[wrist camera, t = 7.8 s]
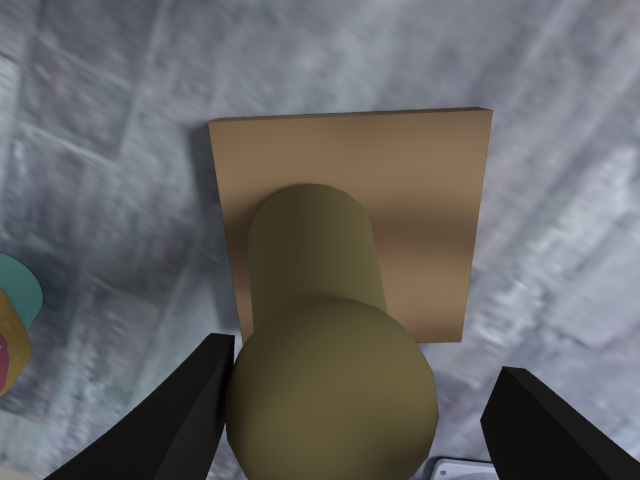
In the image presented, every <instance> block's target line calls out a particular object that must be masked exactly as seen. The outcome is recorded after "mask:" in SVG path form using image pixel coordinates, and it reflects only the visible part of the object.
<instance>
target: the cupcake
mask: <svg viewBox="0 0 640 480" xmlns="http://www.w3.org/2000/svg"><path fill="white" fill-rule="evenodd" d="M42 303H43V294H42V289H41V287H40V284H39V282H38V280H37V279H36V277H35V276H34V275H33V273H32V272H31V271H30V270H29V269H28V268H27V267H26V266H24V265H23V264H22V263H21V262H19V261H18V260H16V259H14V258H12V257H10V256H8V255H6V254H3V253H0V396H2V395H3V394H4V393H5V392H6V391H7V390H8V389H9V388H10V387H11V386H12V385H13V384H14V382H15V381H16V380H17V378H18V376H19V375H20V373H21V371H22V370H23V369H24V368H25V367H26V365H27V364H28V363H29V361H30V359H31V343H30V339H29V336H28V333H27V331H28V329H29V327H30V325H31V324H32V322H33V320H34V319H35V317H36V316H37V314H38V313H39V311H40V309H41V307H42Z"/></svg>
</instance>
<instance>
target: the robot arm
mask: <svg viewBox="0 0 640 480" xmlns="http://www.w3.org/2000/svg"><path fill="white" fill-rule="evenodd" d="M234 344H235V335H227V334H218V333H211V334H209V335H208V336H207V337H206V338H205V339H204V340H203V341H202V342H201V344H200V345H199V346H198V347H197V348H196V349H195V350H194V351H193V352H192V353H191V354H190V355H189V357H188V358H187V359H186V360H185V361H184V362H183V363H182V364H181V365H180V366H179V367H178V368H177V369H176V370H175V371H174V372H173V373H172V374H171V375H170V376H169V377H168V378H167V379H166V380H165V381H164V382H162V383H161V384H160V385H159V386H158V387H157V388H156V389H155V390H154V391H153V392H152V393H151V394H150V395H149V396H148V397H147V398H145V399H144V400H143V401H142V402H141V403H140V404H139V405H138V406H136V407H135V408H134V409H133V410H132V411H131V412H130V413H128V414H127V415H126V416H125V417H124V418H123V419H122V420H120V421H119V422H118V423H117V424H116V425H114V426H113V427H112V428H111V429H110V430H108V431H107V432H106V433H105V434H103V435H102V436H101V437H100V438H98V439H97V440H96V441H95V442H93V443H92V444H91V445H89V446H88V447H87V448H86V449H84V450H83V451H82V452H80V453H79V454H78V455H76V456H75V457H74V458H72V459H71V460H70V461H68V462H67V463H66V464H64V465H63V466H61V467H60V468H59V469H57V470H56V471H54V472H53V473H52V474H50V475H49V476H47V477H46V478H45V479H43V480H206V477H207V475H208V472H209V469H210V466H211V464H212V461H213V458H214V455H215V453H216V450H217V447H218V444H219V441H220V439H221V436H222V433H223V429H224V425H225V392H226V388H227V383H228V379H229V375H230V373H231V371H232V368H233V366H234ZM480 422H481V426H482V430H483V434H484V437H485V441H486V444H487V448H488V451H489V454H490V458H491V461H492V463H493V464H489V463H480V462H471V461H461V460H452V459H440V460H438V461H437V463H436V465H435V468H434V470H433V473H432V476H431V478H430V480H640V463H639V462H638V461H637V460H636V459H634V458H633V457H632V456H631V455H629V454H628V453H627V452H626V451H624V450H623V449H622V448H621V447H619V446H618V445H617V444H616V443H614V442H613V441H612V440H611V439H610V438H608V437H607V436H606V435H605V434H603V433H602V432H601V431H600V430H599V429H597V428H596V427H595V426H594V425H593V424H591V423H590V422H589V421H588V420H587V419H586V418H584V417H583V416H582V415H581V414H580V413H578V412H577V411H576V410H575V409H574V408H573V407H571V406H570V405H569V404H568V403H567V402H565V401H564V400H563V399H562V398H561V397H560V396H558V395H557V394H556V393H555V392H554V391H552V390H551V389H550V388H549V387H548V386H546V385H545V384H544V383H543V382H541V381H540V380H539V379H538V378H536V377H535V376H534V375H533V374H531V373H530V372H529V371H527V370H526V369H523V368H514V367H505V366H503V367H502V370H501V372H500V374H499V377H498V379H497V381H496V384H495V386H494V389H493V391H492V393H491V396H490V398H489V400H488V403H487V405H486V408H485V410H484V412H483V415H482V417H481V419H480Z"/></svg>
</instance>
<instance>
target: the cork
mask: <svg viewBox="0 0 640 480" xmlns="http://www.w3.org/2000/svg"><path fill="white" fill-rule="evenodd" d="M248 255H249V271H250V287H251V303H252V319H253V333H252V334H251V335H250V336H249V338H248V339H247V340H246V342H245V344H244V345H243V347H242V349H241V350H240V352H239V354H238V357H237V359H236V361H235V364H234V366H233V368H232V371H231V373H230V375H229V379H228V383H227V388H226V392H225V423H226V433H227V441H228V443H229V445H230V447H231V449H232V451H233V453H234V455H235V457H236V459H237V461H238V463H239V465H240V467H241V468H242V470H243V472H244V474H245V476H246V478H247V479H249V480H408V479H409V478H411V477H412V476H413V475H414V474H415V473H416V472H417V470H418V469H419V468H420V466H421V465H422V464H423V462H424V461H425V460H426V459H427V457H428V455H429V452H430V449H431V445H432V442H433V439H434V436H435V432H436V427H437V423H438V419H439V412H438V404H437V396H436V389H435V382H434V376H433V372H432V370H431V368H430V366H429V364H428V362H427V360H426V358H425V356H424V354H423V353H422V351H421V350H420V348H419V346H418V345H417V343H416V342H415V340H414V338H413V337H412V335H411V334H410V333H409V332H408V331H407V330H406V329H405V328H404V327H403V326H402V325H401V324H400V323H399V322H397V321H396V320H395V319H393V318H392V317H391V316H389V315H388V311H387V306H386V300H385V295H384V290H383V284H382V279H381V274H380V268H379V263H378V258H377V252H376V247H375V242H374V236H373V231H372V226H371V221H370V219H369V218H368V216H367V214H366V212H365V211H364V209H363V207H362V205H361V204H359V203H358V202H357V201H356V200H355V199H353V198H352V197H351V196H350V195H349V194H348V193H346V192H344V191H341V190H339V189H336V188H334V187H331V186H329V185H321V184H307V183H306V184H302V185H298V186H294V187H290V188H286V189H284V190H282V191H281V192H279V193H277V194H276V195H274V196H273V197H271V198H269V199H268V200H267V201H266V202H265V203H264V205H263V206H262V207H261V208H260V209H259V211H258V212H257V213H256V214H255V216H254V219H253V222H252V224H251V227H250V229H249V232H248Z"/></svg>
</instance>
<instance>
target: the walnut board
mask: <svg viewBox="0 0 640 480" xmlns="http://www.w3.org/2000/svg"><path fill="white" fill-rule="evenodd" d="M492 115H493V110H490V109H485V108H480V107H469V108H445V109H422V110H398V111H374V112H351V113H327V114H304V115H280V116H256V117H233V118H218V119H215V120H212V121H210V122H208V126H209V132H210V139H211V145H212V151H213V158H214V164H215V170H216V177H217V183H218V190H219V196H220V202H221V209H222V215H223V222H224V228H225V234H226V241H227V247H228V253H229V260H230V266H231V273H232V279H233V285H234V292H235V298H236V305H237V311H238V317H239V324H240V330H241V336H242V343H243V345H244V344H245V342H246V340H247V339H248V338H249V336H250V335H251V334H252V333H253V319H252V303H251V287H250V271H249V255H248V232H249V229H250V227H251V224H252V222H253V219H254V216H255V214H256V213H257V212H258V211H259V209H260V208H261V207H262V206H263V205H264V203H265V202H266V201H267V200H268V199H269V198H271V197H273V196H274V195H276V194H277V193H279V192H281V191H282V190H284V189H286V188H290V187H294V186H298V185H302V184H306V183H307V184H321V185H329V186H331V187H334V188H336V189H339V190H341V191H344V192H346V193H348V194H349V195H350V196H351V197H352V198H353V199H355V200H356V201H357V202H358V203H359V204H361V205H362V207H363V209H364V211H365V212H366V214H367V216H368V218H369V219H370V221H371V226H372V231H373V236H374V242H375V247H376V252H377V258H378V263H379V268H380V274H381V279H382V284H383V290H384V295H385V300H386V306H387V311H388V315H389V316H391V317H392V318H393V319H395V320H396V321H397V322H399V323H400V324H401V325H402V326H403V327H404V328H405V329H406V330H407V331H408V332H409V333H410V334H411V335H412V337H413V338H414V340H415V342H416V343H446V342H461V339H462V332H463V325H464V317H465V310H466V303H467V296H468V288H469V281H470V274H471V267H472V259H473V252H474V245H475V238H476V231H477V223H478V216H479V209H480V202H481V194H482V187H483V180H484V173H485V165H486V158H487V151H488V144H489V136H490V129H491V122H492Z"/></svg>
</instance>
